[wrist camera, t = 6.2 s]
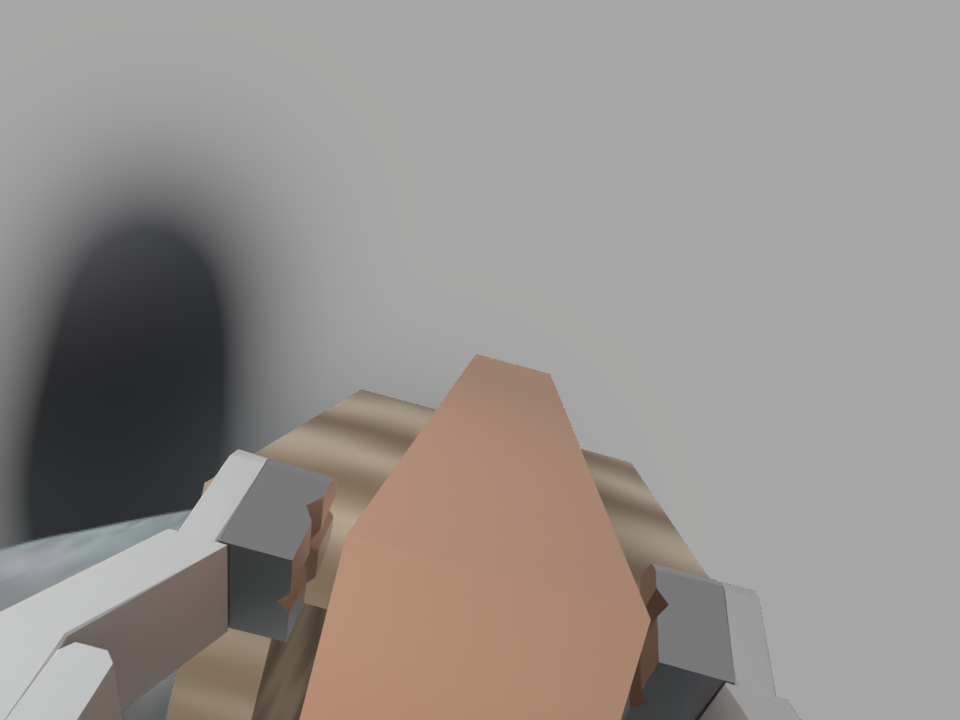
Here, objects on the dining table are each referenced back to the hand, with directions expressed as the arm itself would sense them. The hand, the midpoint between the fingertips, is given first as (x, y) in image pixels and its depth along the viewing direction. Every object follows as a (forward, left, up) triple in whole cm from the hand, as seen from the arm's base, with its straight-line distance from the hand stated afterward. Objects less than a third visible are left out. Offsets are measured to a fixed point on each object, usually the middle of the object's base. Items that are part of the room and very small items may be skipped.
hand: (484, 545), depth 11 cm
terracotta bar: (-7, +3, -2) cm, 7 cm away
